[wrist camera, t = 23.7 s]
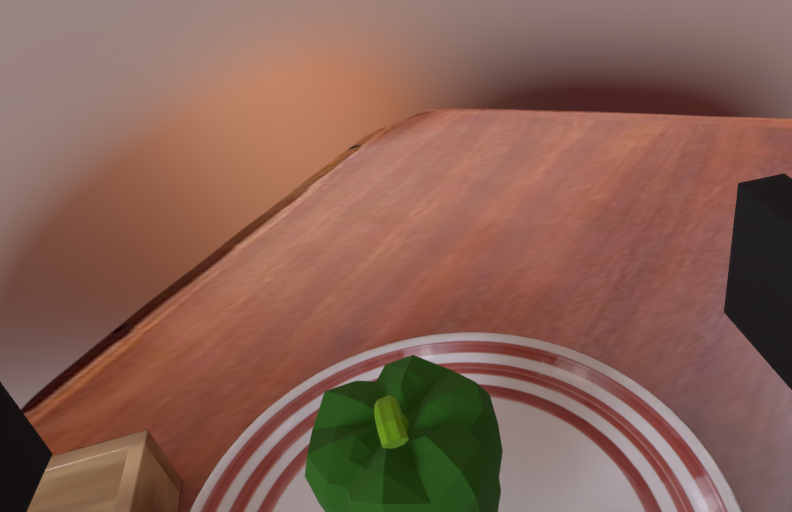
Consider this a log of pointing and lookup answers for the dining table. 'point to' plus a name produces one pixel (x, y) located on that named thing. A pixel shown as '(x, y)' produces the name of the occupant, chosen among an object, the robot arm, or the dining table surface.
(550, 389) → the dinner plate
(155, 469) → the crate
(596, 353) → the dining table surface
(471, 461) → the bell pepper
